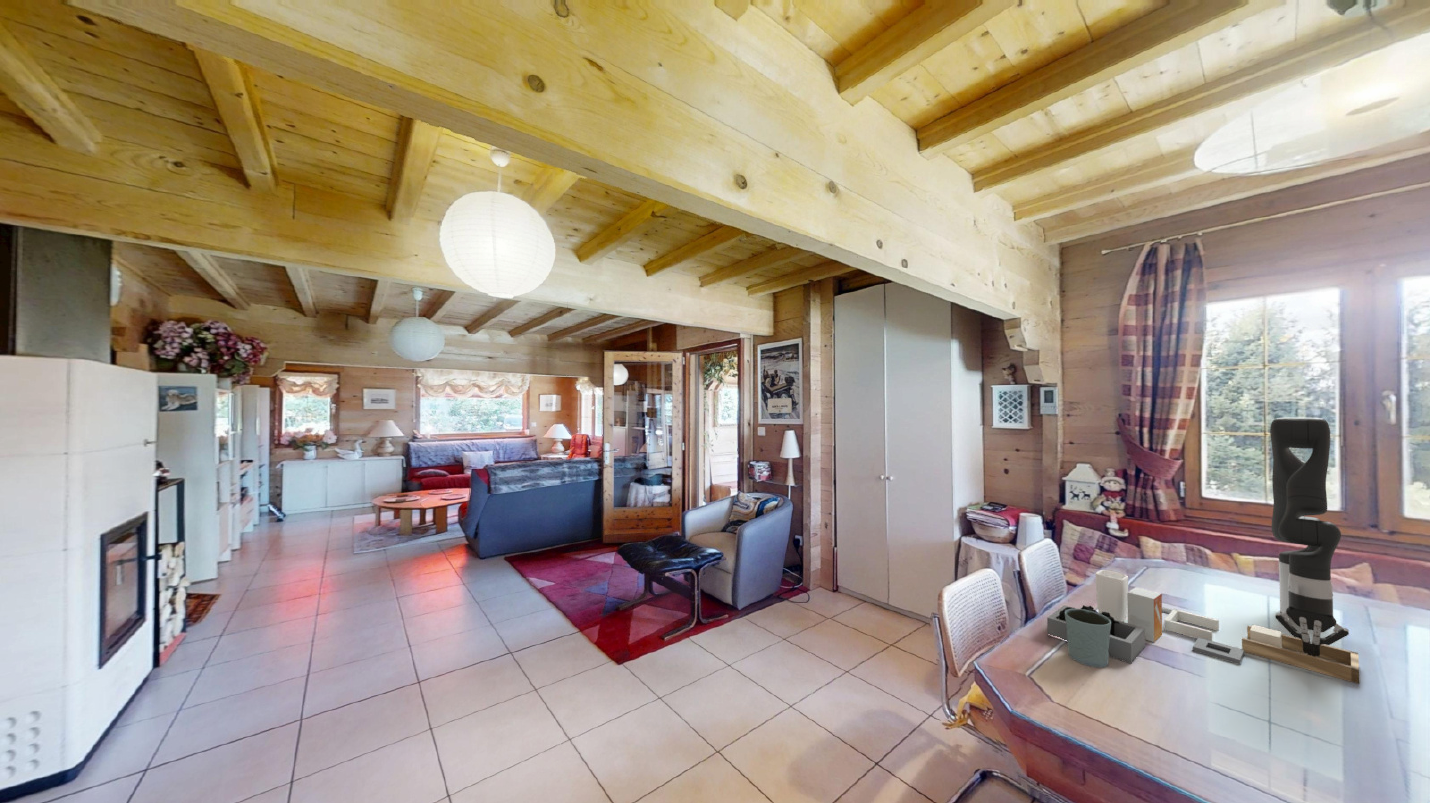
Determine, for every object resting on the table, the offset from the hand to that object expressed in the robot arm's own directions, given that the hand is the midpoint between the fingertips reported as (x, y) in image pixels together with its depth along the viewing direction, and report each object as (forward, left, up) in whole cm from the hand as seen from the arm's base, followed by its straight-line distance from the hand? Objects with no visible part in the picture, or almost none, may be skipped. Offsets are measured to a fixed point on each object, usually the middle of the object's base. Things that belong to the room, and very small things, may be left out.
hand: (1311, 655), depth 127 cm
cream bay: (0, -23, -2) cm, 23 cm away
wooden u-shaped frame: (0, -3, -2) cm, 3 cm away
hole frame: (+13, -16, -2) cm, 21 cm away
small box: (+16, -31, -2) cm, 35 cm away
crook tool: (-10, -26, -2) cm, 28 cm away
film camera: (+34, -39, -2) cm, 52 cm away
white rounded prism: (+11, -40, -2) cm, 42 cm away
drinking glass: (+47, -37, -2) cm, 60 cm away
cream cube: (0, -8, -2) cm, 8 cm away
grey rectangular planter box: (+33, -39, -2) cm, 51 cm away
